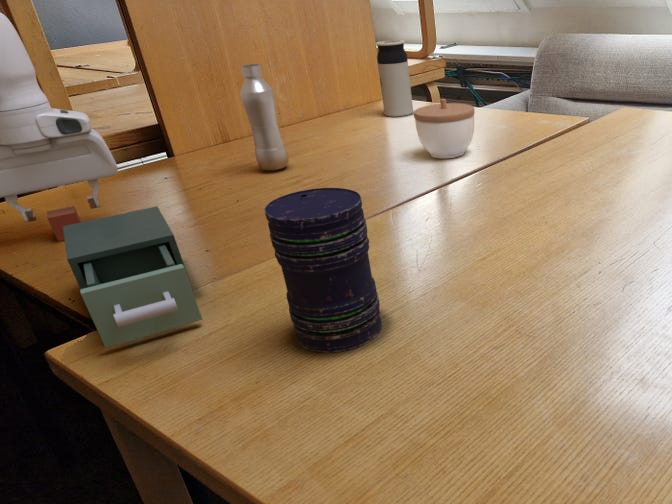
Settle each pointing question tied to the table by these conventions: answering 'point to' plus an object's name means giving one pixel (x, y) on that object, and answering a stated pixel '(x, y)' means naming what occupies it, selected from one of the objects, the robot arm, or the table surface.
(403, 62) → the travel mug
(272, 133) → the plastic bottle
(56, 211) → the block
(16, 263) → the table surface
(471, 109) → the lidded bowl
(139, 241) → the cabinet
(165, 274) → the drawer
